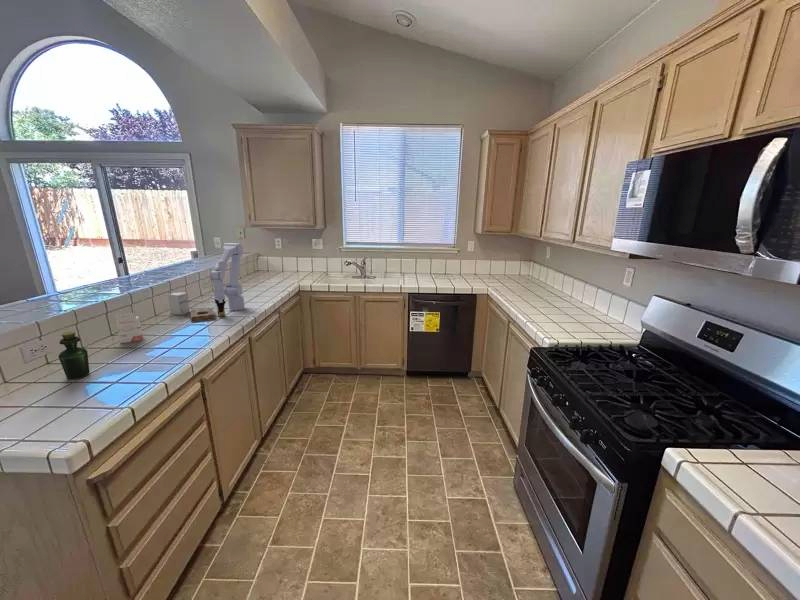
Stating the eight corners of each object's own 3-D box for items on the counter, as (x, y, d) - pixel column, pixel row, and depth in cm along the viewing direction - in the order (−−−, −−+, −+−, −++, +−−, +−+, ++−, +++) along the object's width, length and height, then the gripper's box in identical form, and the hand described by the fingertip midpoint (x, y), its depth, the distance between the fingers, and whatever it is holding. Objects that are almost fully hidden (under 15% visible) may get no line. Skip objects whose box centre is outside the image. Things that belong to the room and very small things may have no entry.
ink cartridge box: (143, 337, 170) (138, 310, 167) (141, 340, 166) (136, 313, 162) (122, 339, 166) (116, 312, 163) (119, 343, 162) (114, 314, 158)
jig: (213, 312, 214) (212, 307, 214) (214, 319, 201) (214, 314, 201) (191, 314, 208) (190, 309, 207) (191, 321, 195) (191, 317, 194)
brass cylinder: (225, 315, 209) (223, 302, 207) (225, 316, 206) (224, 304, 204) (217, 315, 207) (216, 303, 205) (218, 317, 204) (216, 305, 202)
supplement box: (180, 314, 207) (177, 295, 203) (170, 313, 208) (167, 294, 205) (189, 311, 214) (187, 292, 210) (180, 310, 215) (177, 291, 212)
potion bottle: (63, 375, 131) (53, 332, 126) (91, 369, 137) (82, 328, 132) (64, 383, 125) (52, 338, 121) (92, 376, 131) (83, 333, 126)
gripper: (210, 288, 206) (213, 308, 210) (212, 293, 194) (214, 315, 198) (223, 287, 210) (225, 307, 213) (225, 292, 198) (227, 313, 202)
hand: (221, 311), depth 206 cm, fingers closed on brass cylinder, 4 cm apart
